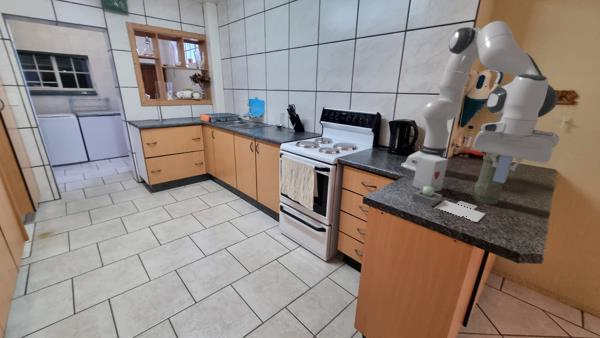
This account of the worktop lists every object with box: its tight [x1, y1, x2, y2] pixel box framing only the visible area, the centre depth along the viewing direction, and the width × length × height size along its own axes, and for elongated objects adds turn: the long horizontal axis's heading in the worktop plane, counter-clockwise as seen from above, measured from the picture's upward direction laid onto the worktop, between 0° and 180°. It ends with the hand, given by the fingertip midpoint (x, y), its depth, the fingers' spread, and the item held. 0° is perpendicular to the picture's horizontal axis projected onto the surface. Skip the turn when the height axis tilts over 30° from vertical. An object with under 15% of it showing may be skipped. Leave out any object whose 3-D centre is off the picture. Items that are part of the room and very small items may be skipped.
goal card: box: [456, 200, 478, 210], centre depth 97 cm, size 6×4×1 cm, turn 39°
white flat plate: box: [434, 200, 486, 223], centre depth 92 cm, size 14×10×1 cm
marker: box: [493, 155, 514, 184], centre depth 82 cm, size 3×3×10 cm
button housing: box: [411, 189, 443, 207], centre depth 100 cm, size 8×8×3 cm
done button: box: [422, 186, 435, 198], centre depth 99 cm, size 4×4×4 cm
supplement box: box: [412, 155, 449, 193], centre depth 111 cm, size 9×9×15 cm
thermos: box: [471, 115, 503, 206], centre depth 96 cm, size 9×12×35 cm
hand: (502, 168), depth 82 cm, fingers closed on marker, 3 cm apart
